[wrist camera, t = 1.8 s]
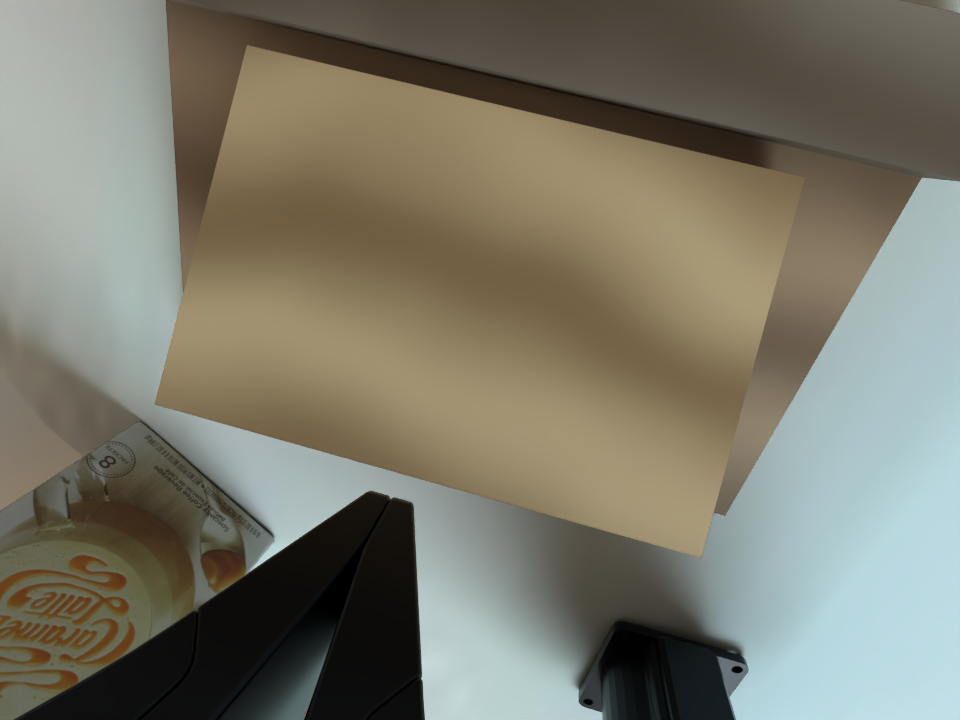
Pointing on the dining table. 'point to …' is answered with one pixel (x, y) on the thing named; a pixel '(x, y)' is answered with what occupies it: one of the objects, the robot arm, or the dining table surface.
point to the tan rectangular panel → (479, 296)
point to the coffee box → (110, 562)
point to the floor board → (646, 114)
